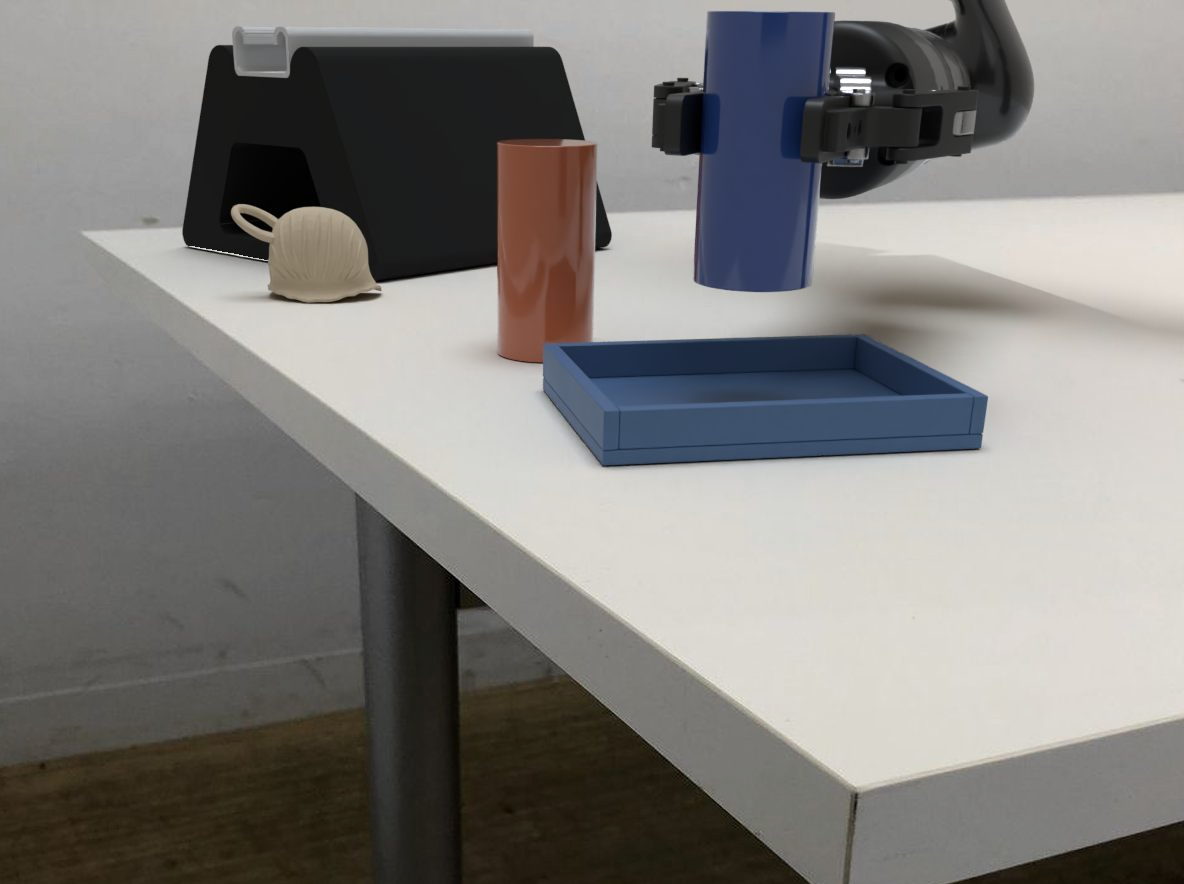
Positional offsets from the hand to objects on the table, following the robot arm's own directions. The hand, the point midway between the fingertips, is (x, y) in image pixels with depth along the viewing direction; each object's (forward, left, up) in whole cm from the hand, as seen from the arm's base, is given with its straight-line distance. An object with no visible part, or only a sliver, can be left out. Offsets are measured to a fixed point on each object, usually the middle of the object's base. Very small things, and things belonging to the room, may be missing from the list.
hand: (741, 128), depth 52 cm
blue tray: (-2, -2, -12) cm, 12 cm away
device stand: (+8, -54, -12) cm, 56 cm away
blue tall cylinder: (-2, -2, -6) cm, 7 cm away
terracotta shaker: (+4, -16, -12) cm, 20 cm away
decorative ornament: (+15, -34, -12) cm, 39 cm away
